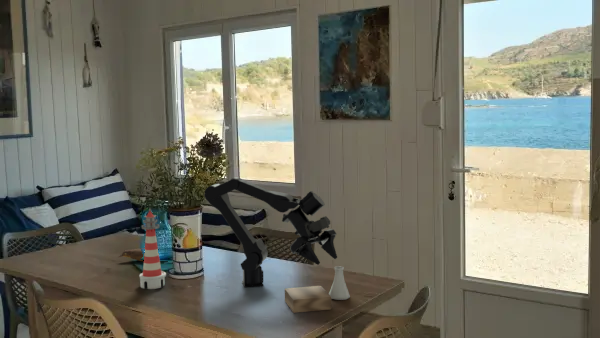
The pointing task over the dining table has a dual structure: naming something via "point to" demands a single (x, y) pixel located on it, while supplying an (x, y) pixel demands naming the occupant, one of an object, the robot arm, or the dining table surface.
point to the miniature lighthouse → (151, 257)
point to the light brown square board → (307, 299)
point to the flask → (339, 285)
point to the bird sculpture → (133, 254)
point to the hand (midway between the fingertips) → (327, 261)
